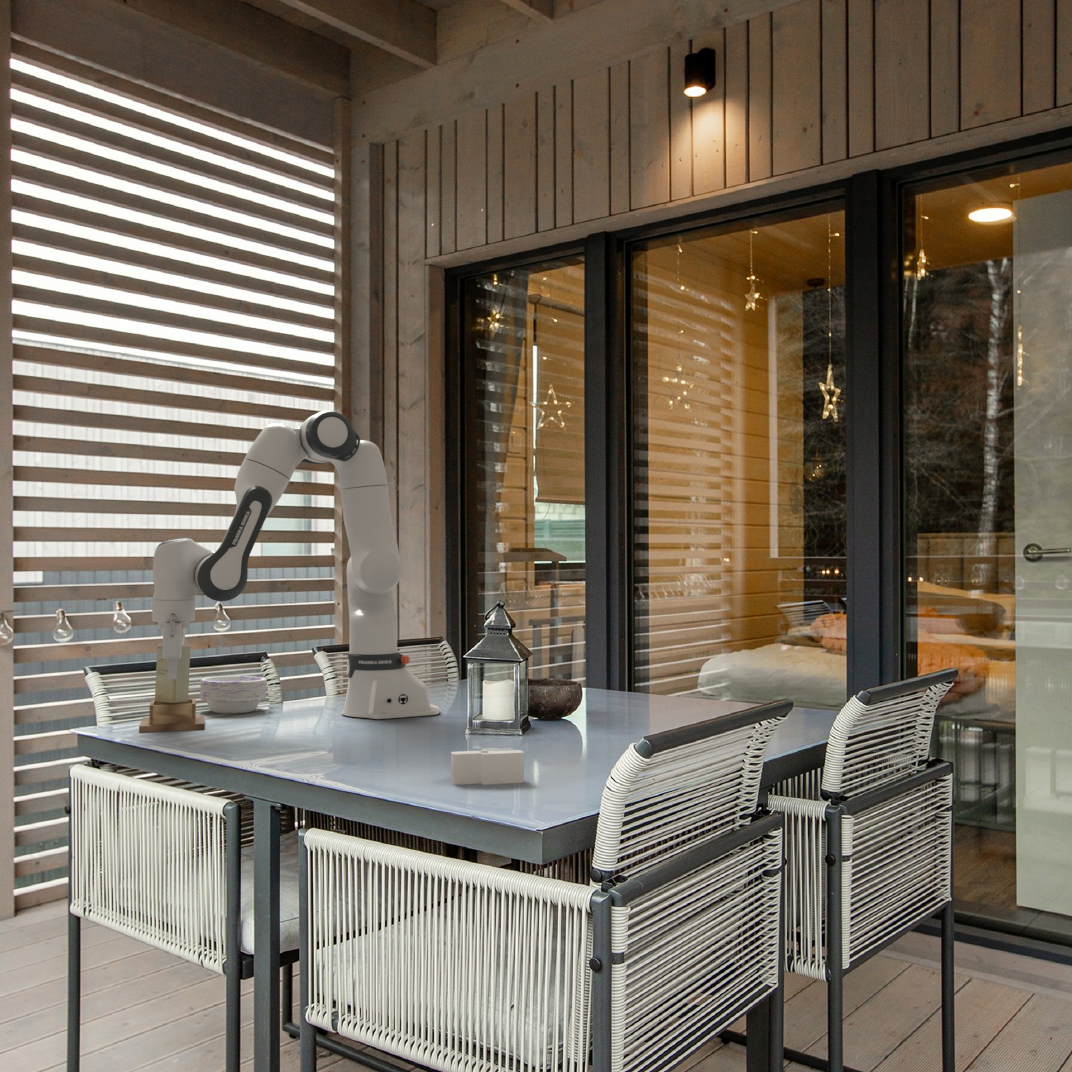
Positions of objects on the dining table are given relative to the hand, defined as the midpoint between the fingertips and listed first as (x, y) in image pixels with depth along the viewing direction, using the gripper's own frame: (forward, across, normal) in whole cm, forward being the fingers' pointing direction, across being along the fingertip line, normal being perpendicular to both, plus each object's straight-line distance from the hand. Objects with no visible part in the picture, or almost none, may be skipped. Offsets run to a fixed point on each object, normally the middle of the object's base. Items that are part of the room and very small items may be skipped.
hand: (173, 676), depth 229 cm
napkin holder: (+11, -74, -50) cm, 90 cm away
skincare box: (+6, 0, 0) cm, 6 cm away
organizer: (+11, 0, 0) cm, 11 cm away
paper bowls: (+11, +19, -13) cm, 25 cm away
